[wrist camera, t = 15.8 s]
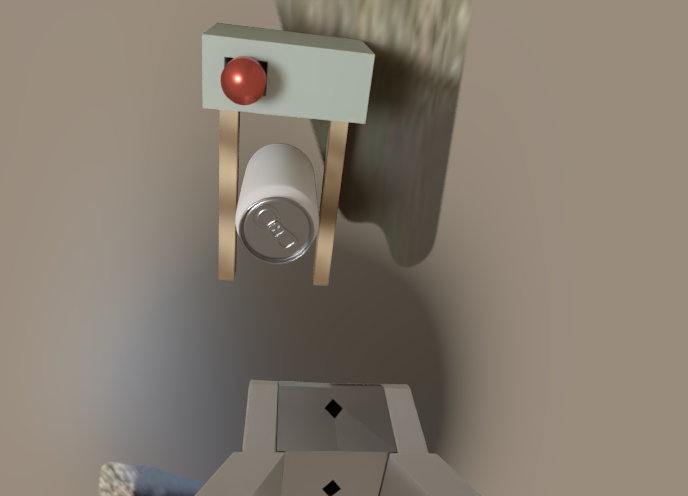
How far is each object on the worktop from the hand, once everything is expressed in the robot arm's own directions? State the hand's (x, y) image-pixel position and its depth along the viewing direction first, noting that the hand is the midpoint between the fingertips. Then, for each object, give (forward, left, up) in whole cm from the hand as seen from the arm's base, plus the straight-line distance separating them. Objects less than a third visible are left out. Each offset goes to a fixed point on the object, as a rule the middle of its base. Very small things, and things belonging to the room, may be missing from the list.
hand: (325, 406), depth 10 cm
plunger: (0, -4, -36) cm, 37 cm away
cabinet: (0, -1, -39) cm, 39 cm away
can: (+10, -1, -39) cm, 41 cm away
